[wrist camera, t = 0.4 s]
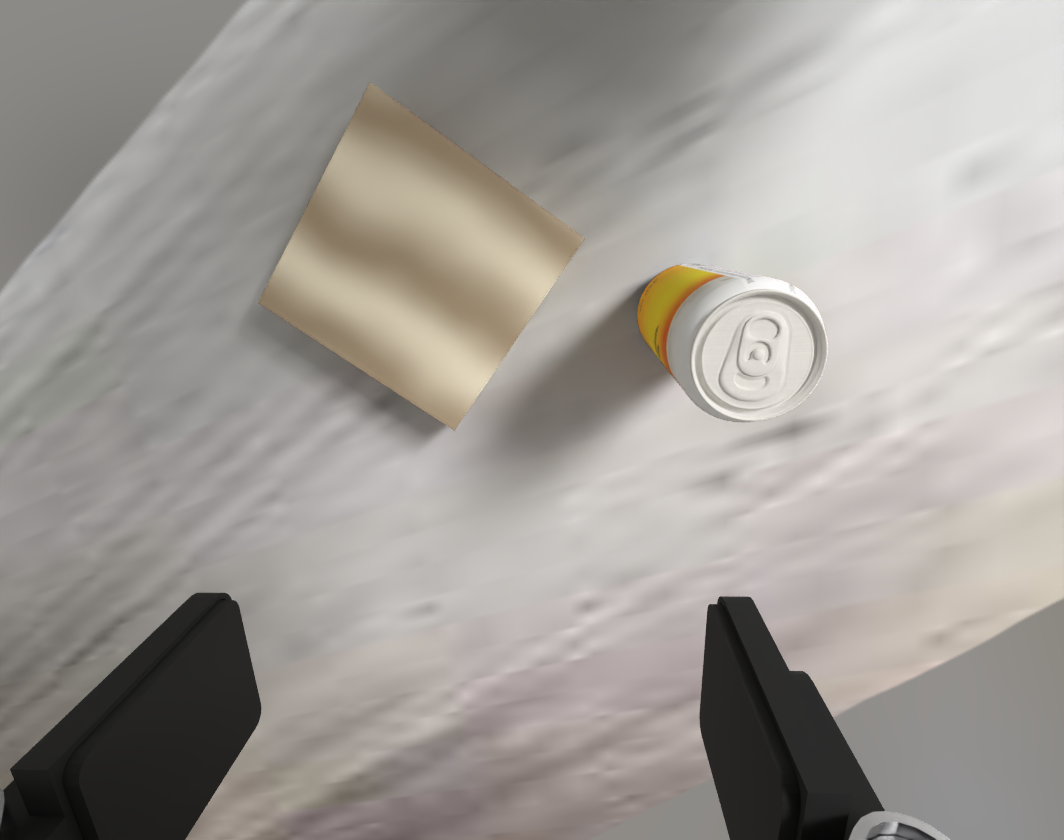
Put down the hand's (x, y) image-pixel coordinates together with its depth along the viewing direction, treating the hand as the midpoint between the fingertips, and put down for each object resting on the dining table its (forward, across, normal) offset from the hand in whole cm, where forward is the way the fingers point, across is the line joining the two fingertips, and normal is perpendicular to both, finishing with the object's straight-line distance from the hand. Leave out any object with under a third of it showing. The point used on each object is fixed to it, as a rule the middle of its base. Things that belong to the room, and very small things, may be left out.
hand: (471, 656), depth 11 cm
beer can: (+28, -10, -3) cm, 30 cm away
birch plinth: (+28, +7, -6) cm, 30 cm away
